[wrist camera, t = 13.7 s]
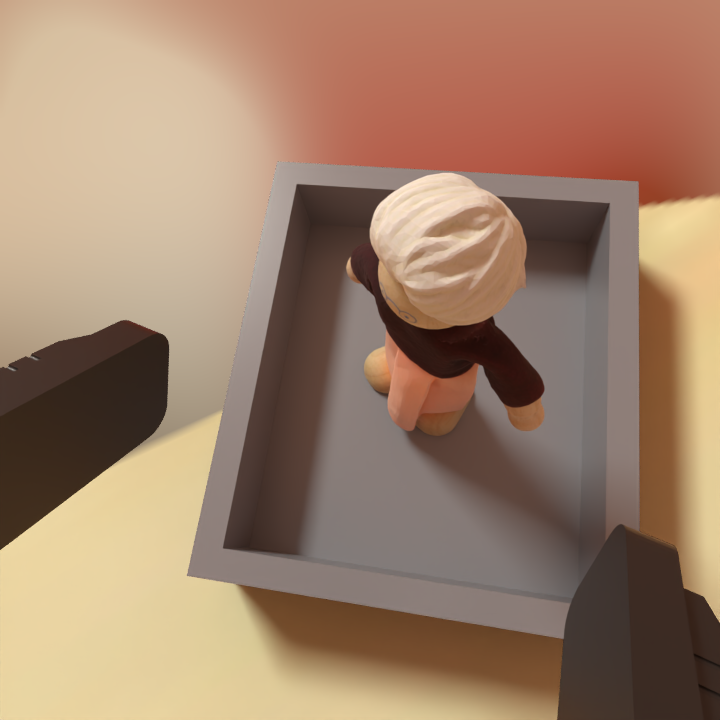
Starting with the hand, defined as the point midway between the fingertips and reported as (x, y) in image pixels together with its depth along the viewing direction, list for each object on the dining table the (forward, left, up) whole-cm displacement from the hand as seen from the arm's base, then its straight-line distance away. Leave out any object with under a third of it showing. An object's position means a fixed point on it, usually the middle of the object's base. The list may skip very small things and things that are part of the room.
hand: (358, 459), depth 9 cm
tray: (-1, -5, -13) cm, 14 cm away
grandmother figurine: (-1, -4, -13) cm, 13 cm away
